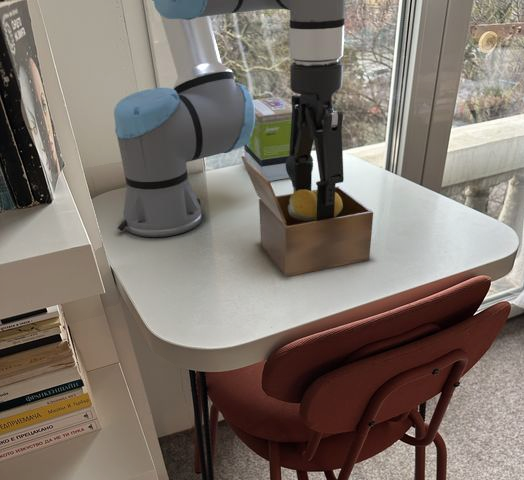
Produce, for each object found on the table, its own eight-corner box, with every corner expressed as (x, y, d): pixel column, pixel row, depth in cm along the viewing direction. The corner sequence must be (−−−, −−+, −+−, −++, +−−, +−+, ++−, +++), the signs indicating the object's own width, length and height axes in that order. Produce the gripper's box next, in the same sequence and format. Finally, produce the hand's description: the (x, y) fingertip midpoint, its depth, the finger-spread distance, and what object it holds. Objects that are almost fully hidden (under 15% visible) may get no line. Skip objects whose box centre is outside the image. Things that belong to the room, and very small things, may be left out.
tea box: (243, 163, 137) (239, 99, 128) (281, 158, 139) (280, 95, 130) (261, 183, 125) (258, 114, 116) (302, 177, 127) (303, 109, 118)
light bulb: (297, 206, 113) (297, 157, 107) (280, 198, 117) (279, 150, 111) (318, 199, 116) (319, 151, 110) (301, 192, 119) (301, 145, 113)
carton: (286, 276, 89) (285, 227, 84) (260, 244, 99) (258, 198, 94) (369, 260, 93) (373, 211, 88) (336, 230, 103) (338, 185, 98)
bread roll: (346, 220, 89) (348, 196, 87) (291, 224, 89) (291, 200, 86) (336, 201, 96) (337, 178, 93) (285, 205, 95) (285, 182, 93)
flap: (286, 222, 84) (284, 224, 84) (259, 194, 94) (257, 195, 94) (269, 180, 79) (267, 181, 79) (243, 155, 89) (240, 156, 89)
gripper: (376, 70, 71) (363, 232, 84) (311, 48, 87) (309, 187, 101) (322, 75, 69) (318, 241, 83) (267, 52, 86) (271, 193, 99)
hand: (313, 211), depth 92 cm, fingers closed on bread roll, 9 cm apart
